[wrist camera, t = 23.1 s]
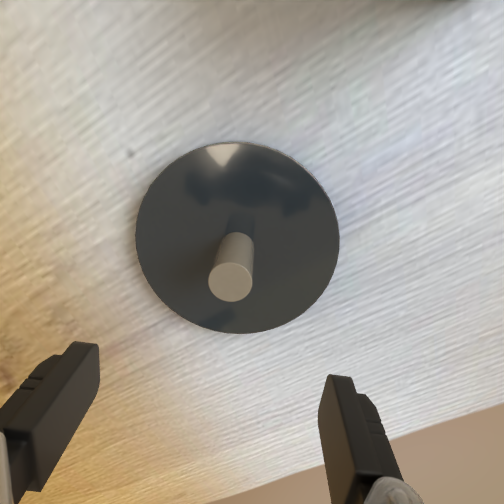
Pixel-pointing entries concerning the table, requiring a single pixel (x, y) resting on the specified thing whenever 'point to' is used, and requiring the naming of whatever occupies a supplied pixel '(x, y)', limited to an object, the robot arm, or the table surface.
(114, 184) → the table surface
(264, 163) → the pot lid
